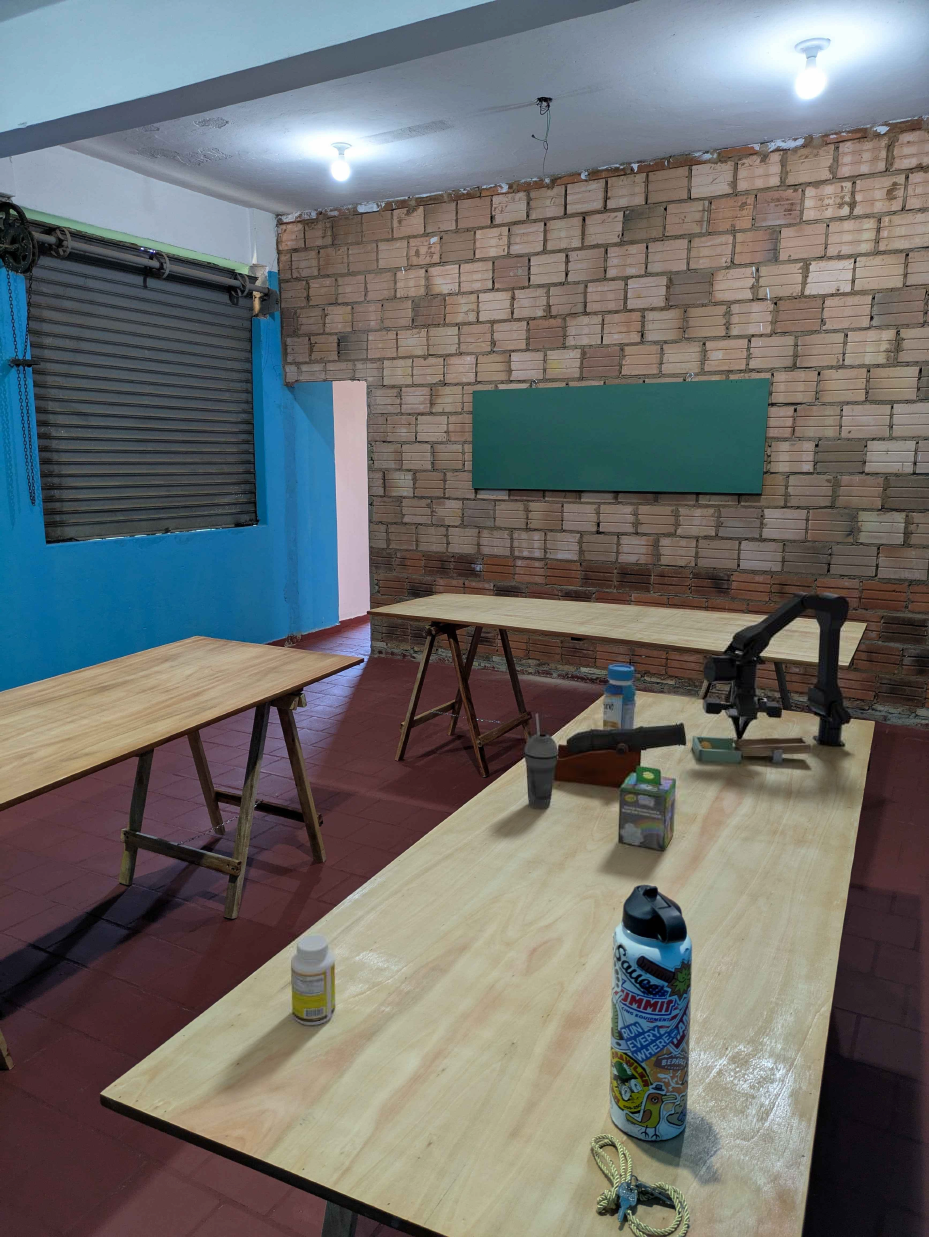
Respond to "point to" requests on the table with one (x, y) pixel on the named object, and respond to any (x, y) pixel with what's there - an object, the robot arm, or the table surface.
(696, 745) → the tray
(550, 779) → the beverage cup
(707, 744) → the ball
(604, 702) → the beverage bottle
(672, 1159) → the table surface
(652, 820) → the chalk box
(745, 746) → the chute
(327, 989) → the supplement bottle
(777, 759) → the fulcrum
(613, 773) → the cannon model
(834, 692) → the robot arm
